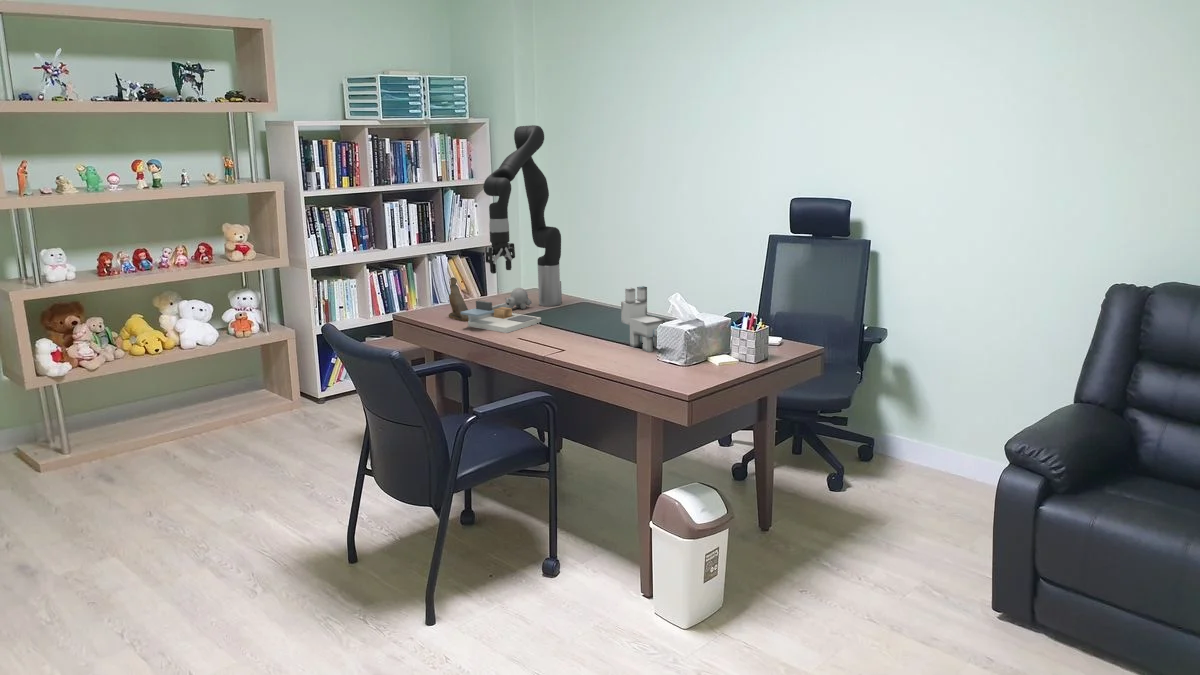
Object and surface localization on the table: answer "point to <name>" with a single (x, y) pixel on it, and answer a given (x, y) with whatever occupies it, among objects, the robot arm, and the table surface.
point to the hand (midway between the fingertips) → (501, 271)
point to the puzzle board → (502, 321)
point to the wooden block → (503, 312)
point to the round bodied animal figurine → (518, 299)
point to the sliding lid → (480, 309)
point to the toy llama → (639, 319)
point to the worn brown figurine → (457, 302)
